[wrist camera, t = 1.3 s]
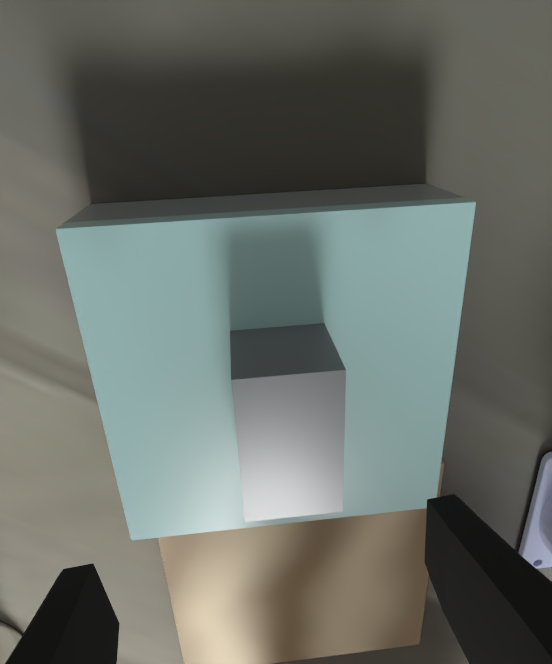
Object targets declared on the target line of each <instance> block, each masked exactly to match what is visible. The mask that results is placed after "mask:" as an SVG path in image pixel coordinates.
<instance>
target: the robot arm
mask: <svg viewBox="0 0 552 664" xmlns="http://www.w3.org/2000/svg"><path fill="white" fill-rule="evenodd" d="M424 562H425V565H426V568H427V570H428V573H429V576H430V578H431V581H432V584H433V586H434V589H435V592H436V594H437V597H438V599H439V602H440V604H441V607H442V609H443V612H444V614H445V616H446V618H447V620H448V622H449V624H450V626H451V628H452V630H453V632H454V634H455V636H456V638H457V640H458V642H459V644H460V646H461V648H462V650H463V652H464V654H465V656H466V658H467V660H468V662H469V664H552V582H551V581H550V580H549V579H548V578H547V577H545V576H544V575H543V574H542V573H541V572H540V571H538V570H537V568H545V567H552V452H549V453H547V454H545V455H544V456H543V458H542V461H541V465H540V469H539V473H538V477H537V481H536V485H535V489H534V493H533V497H532V501H531V505H530V509H529V513H528V517H527V521H526V525H525V529H524V533H523V537H522V541H521V545H520V549H519V553H518V552H517V551H515V550H514V549H513V548H512V547H511V546H510V545H509V544H508V543H507V542H505V541H504V540H503V539H502V538H501V537H500V536H499V535H498V534H497V533H496V532H495V531H493V530H492V529H491V528H490V527H489V526H488V525H487V524H486V523H485V522H484V521H483V520H482V519H481V518H480V517H478V516H477V515H476V514H475V513H474V512H473V511H472V510H471V509H470V508H469V507H468V506H467V505H466V504H465V503H464V502H463V501H462V500H461V499H460V498H459V497H457V496H456V495H454V494H453V495H447V496H442V497H437V498H432V499H427V513H426V536H425V560H424ZM118 634H119V622H118V619H117V617H116V615H115V613H114V610H113V608H112V606H111V603H110V601H109V599H108V596H107V594H106V592H105V590H104V587H103V585H102V583H101V580H100V578H99V576H98V573H97V571H96V569H95V567H94V564H88V565H83V566H78V567H72V568H67V569H63V571H62V572H61V573H60V574H59V576H58V578H57V579H56V581H55V583H54V584H53V586H52V588H51V589H50V591H49V593H48V594H47V596H46V598H45V599H44V601H43V603H42V604H41V606H40V608H39V609H38V611H37V613H36V614H35V616H34V618H33V619H32V621H31V623H30V624H29V626H28V627H27V629H26V631H25V632H24V634H23V636H22V637H21V639H20V640H19V642H18V644H17V645H16V647H15V648H14V650H13V652H12V653H11V655H10V656H9V658H8V659H7V661H6V663H5V664H116V662H117V649H118Z"/></svg>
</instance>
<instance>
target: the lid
mask: <svg viewBox="0 0 552 664" xmlns="http://www.w3.org/2000/svg"><path fill="white" fill-rule="evenodd" d="M475 206H476V202H475V201H472V200H469V199H466V198H464V197H463V198H448V199H432V200H416V201H400V202H385V203H369V204H353V205H337V206H322V207H306V208H290V209H274V210H258V211H243V212H227V213H211V214H195V215H180V216H164V217H148V218H132V219H117V220H101V221H85V222H69V223H63V224H62V225H61V226H59V227H58V228H56V233H57V237H58V241H59V246H60V250H61V254H62V258H63V262H64V266H65V270H66V274H67V278H68V283H69V287H70V291H71V295H72V299H73V303H74V307H75V311H76V315H77V319H78V324H79V328H80V332H81V336H82V340H83V344H84V348H85V352H86V356H87V361H88V365H89V369H90V373H91V377H92V381H93V385H94V389H95V393H96V398H97V402H98V406H99V410H100V414H101V418H102V422H103V426H104V430H105V434H106V439H107V443H108V447H109V451H110V455H111V459H112V463H113V467H114V471H115V476H116V480H117V484H118V488H119V492H120V496H121V500H122V504H123V508H124V512H125V517H126V521H127V525H128V529H129V533H130V537H131V540H140V539H149V538H158V537H168V536H177V535H186V534H195V533H204V532H213V531H222V530H231V529H241V528H250V527H259V526H268V525H277V524H286V523H295V522H305V521H314V520H323V519H332V518H341V517H350V516H359V515H368V514H378V513H387V512H396V511H405V510H414V509H423V508H427V499H432V498H436V497H437V490H438V482H439V475H440V467H441V460H442V453H443V445H444V438H445V430H446V423H447V415H448V408H449V400H450V393H451V385H452V378H453V371H454V363H455V356H456V348H457V341H458V333H459V326H460V318H461V311H462V303H463V296H464V289H465V281H466V274H467V266H468V259H469V251H470V244H471V236H472V229H473V221H474V214H475Z"/></svg>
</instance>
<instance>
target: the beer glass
mask: <svg viewBox="0 0 552 664" xmlns="http://www.w3.org/2000/svg"><path fill="white" fill-rule="evenodd" d="M21 637H22V635H21V634H20V633H19V632H18V631H17V630H15V629H14V628H12V627H10V626H9V625H7V624H5V623H2V622H0V664H5V663H6V661H7V659H8V658H9V656H10V655H11V653H12V652H13V650H14V648H15V647H16V645H17V644H18V642H19V640H20V639H21Z"/></svg>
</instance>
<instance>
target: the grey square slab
mask: <svg viewBox="0 0 552 664" xmlns="http://www.w3.org/2000/svg"><path fill="white" fill-rule="evenodd" d="M448 198H463V197H461V196H458V195H456V194H453V193H450V192H448V191H445V190H442V189H440V188H437V187H434V186H431V185H429V184H412V185H396V186H380V187H363V188H347V189H330V190H314V191H298V192H281V193H265V194H249V195H232V196H216V197H199V198H183V199H167V200H150V201H134V202H117V203H101V204H90V205H89V206H87V207H86V208H84V209H83V210H82V211H80V212H79V213H77V214H76V215H75V216H73V217H72V218H70V219H69V220H68V221H66V222H65V223H69V222H85V221H101V220H117V219H132V218H148V217H164V216H180V215H195V214H211V213H227V212H243V211H258V210H274V209H290V208H306V207H322V206H337V205H353V204H369V203H385V202H400V201H416V200H432V199H448Z"/></svg>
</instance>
